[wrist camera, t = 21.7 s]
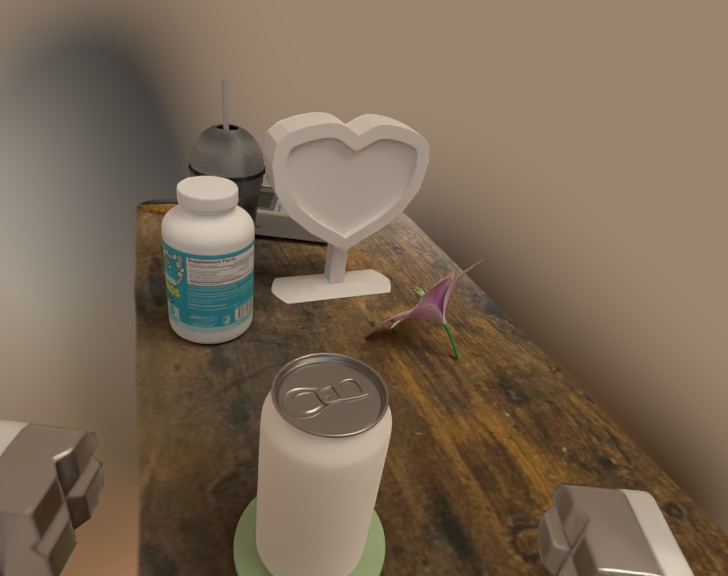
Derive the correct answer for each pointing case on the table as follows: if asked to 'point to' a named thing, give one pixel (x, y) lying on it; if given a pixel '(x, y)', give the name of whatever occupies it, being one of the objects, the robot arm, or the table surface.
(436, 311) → the lily
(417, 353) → the table surface
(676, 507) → the table surface
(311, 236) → the handheld gaming device
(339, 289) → the heart sculpture
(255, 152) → the beverage cup
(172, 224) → the pill bottle
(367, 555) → the coaster
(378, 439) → the can
